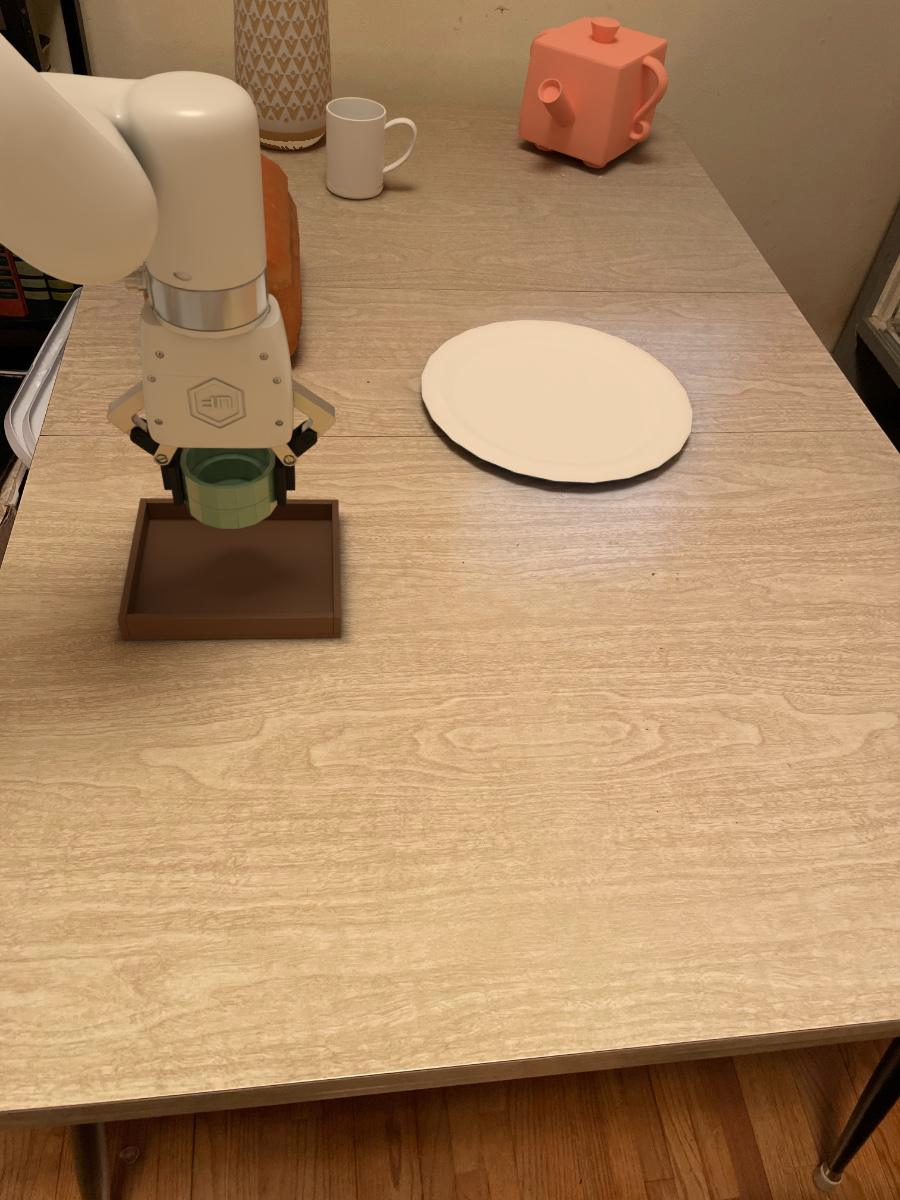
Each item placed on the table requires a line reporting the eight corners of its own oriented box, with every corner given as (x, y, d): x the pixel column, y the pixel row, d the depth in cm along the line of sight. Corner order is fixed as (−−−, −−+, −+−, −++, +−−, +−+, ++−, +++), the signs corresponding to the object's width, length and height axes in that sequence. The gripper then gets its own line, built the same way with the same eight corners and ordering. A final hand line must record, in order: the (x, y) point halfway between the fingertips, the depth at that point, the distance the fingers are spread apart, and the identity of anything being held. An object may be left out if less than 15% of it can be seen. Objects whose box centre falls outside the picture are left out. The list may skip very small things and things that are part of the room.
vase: (219, 133, 143) (198, -120, 120) (287, 111, 150) (279, -130, 128) (283, 165, 137) (274, -94, 115) (350, 141, 145) (354, -106, 123)
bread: (298, 253, 121) (295, 121, 109) (305, 376, 103) (302, 235, 91) (165, 250, 118) (148, 115, 106) (148, 376, 100) (125, 230, 89)
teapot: (600, 202, 138) (628, 68, 125) (468, 155, 146) (481, 23, 133) (670, 151, 154) (701, 26, 141) (547, 110, 161) (567, -12, 148)
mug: (323, 197, 132) (322, 116, 124) (329, 172, 137) (329, 94, 129) (411, 206, 132) (416, 127, 125) (414, 181, 138) (419, 104, 130)
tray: (122, 640, 76) (117, 619, 74) (144, 519, 86) (140, 497, 84) (340, 637, 78) (341, 617, 77) (338, 519, 88) (338, 499, 86)
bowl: (182, 534, 73) (175, 489, 70) (191, 473, 78) (184, 429, 75) (277, 533, 74) (274, 489, 71) (279, 474, 79) (277, 430, 76)
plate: (514, 303, 117) (516, 290, 116) (732, 400, 107) (737, 387, 106) (363, 409, 100) (363, 396, 98) (607, 536, 90) (611, 523, 88)
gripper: (60, 315, 59) (110, 527, 72) (345, 322, 61) (344, 527, 74) (80, 255, 64) (124, 463, 77) (343, 263, 66) (342, 464, 79)
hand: (232, 493), depth 75 cm, fingers closed on bowl, 7 cm apart
